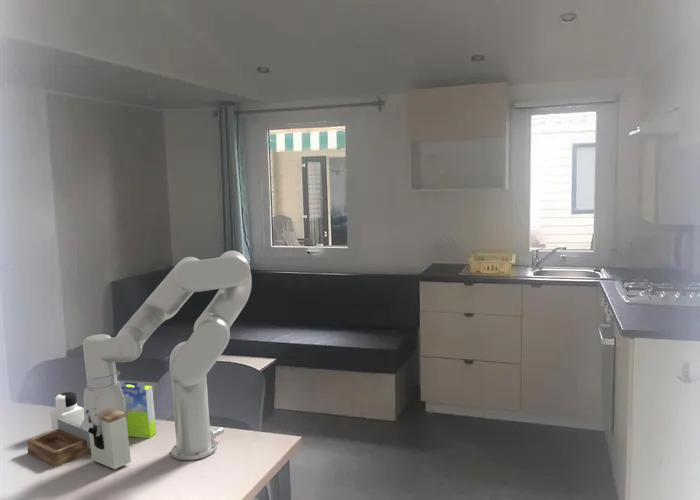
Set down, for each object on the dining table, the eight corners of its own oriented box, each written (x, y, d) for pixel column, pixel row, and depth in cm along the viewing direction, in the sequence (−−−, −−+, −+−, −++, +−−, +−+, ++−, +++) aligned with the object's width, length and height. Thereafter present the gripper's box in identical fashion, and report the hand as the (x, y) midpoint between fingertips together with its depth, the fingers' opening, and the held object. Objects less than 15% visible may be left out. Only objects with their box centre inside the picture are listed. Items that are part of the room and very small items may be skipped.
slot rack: (63, 439, 186) (61, 417, 185) (92, 452, 177) (90, 429, 176) (28, 453, 178) (25, 430, 177) (56, 467, 168) (53, 443, 167)
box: (157, 433, 188) (152, 379, 186) (149, 439, 184) (144, 383, 182) (127, 430, 191) (122, 377, 189) (119, 436, 187) (114, 381, 185)
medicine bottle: (73, 424, 198) (70, 388, 196) (86, 429, 194) (82, 392, 192) (52, 432, 192) (48, 395, 191) (64, 437, 188) (60, 399, 186)
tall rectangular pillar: (108, 452, 174) (102, 405, 173) (131, 461, 168) (125, 412, 166) (92, 459, 170) (86, 411, 169) (114, 469, 164) (108, 419, 162)
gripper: (122, 369, 175) (128, 429, 177) (64, 388, 162) (72, 453, 164) (137, 373, 171) (144, 435, 173) (79, 393, 157) (87, 460, 159)
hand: (109, 443), depth 168 cm, fingers closed on tall rectangular pillar, 5 cm apart
